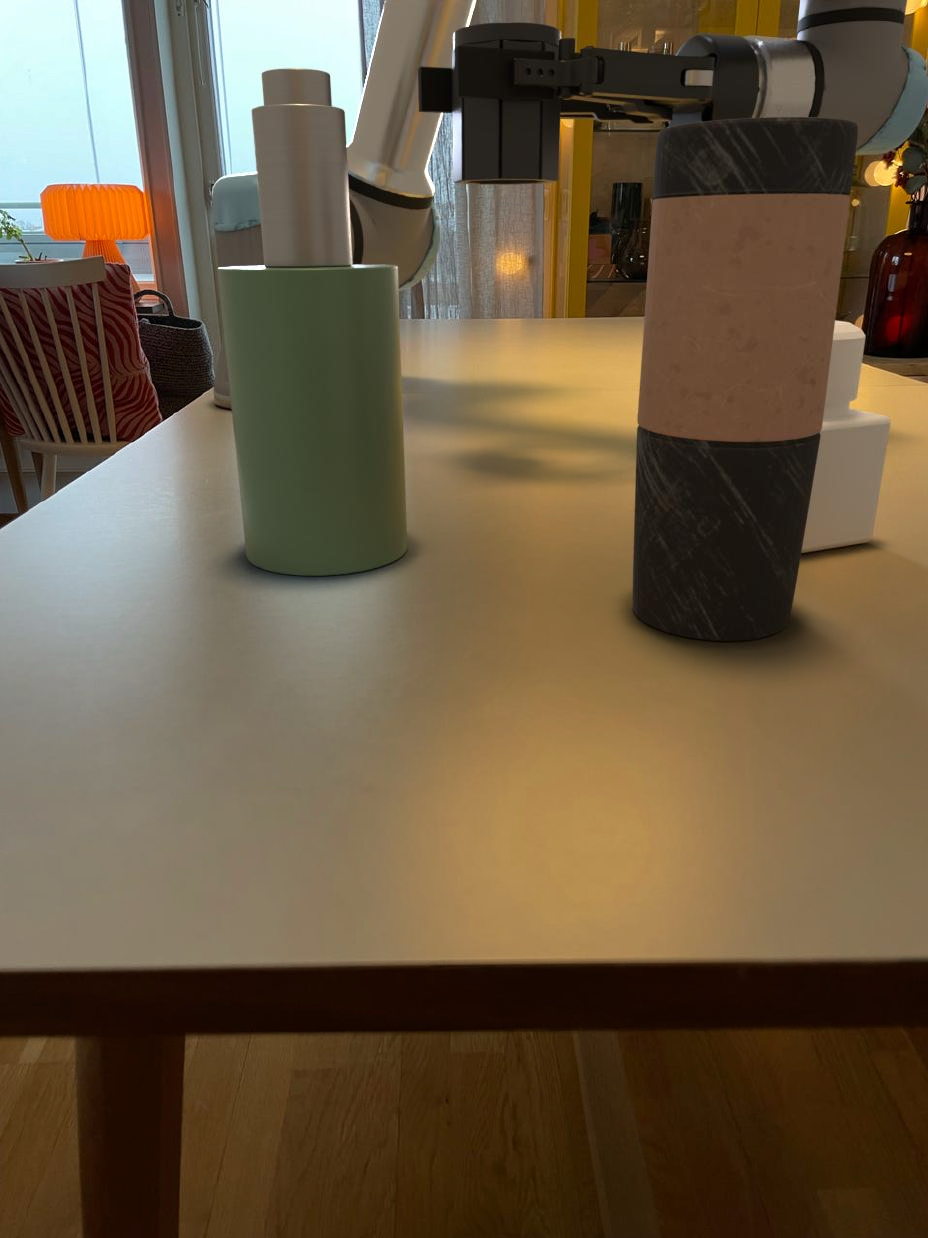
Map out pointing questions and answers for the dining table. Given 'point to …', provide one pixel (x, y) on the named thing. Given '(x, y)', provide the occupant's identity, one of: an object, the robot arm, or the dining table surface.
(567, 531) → the dining table surface
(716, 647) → the dining table surface
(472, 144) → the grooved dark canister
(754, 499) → the travel mug
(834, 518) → the medicine bottle
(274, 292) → the flask
